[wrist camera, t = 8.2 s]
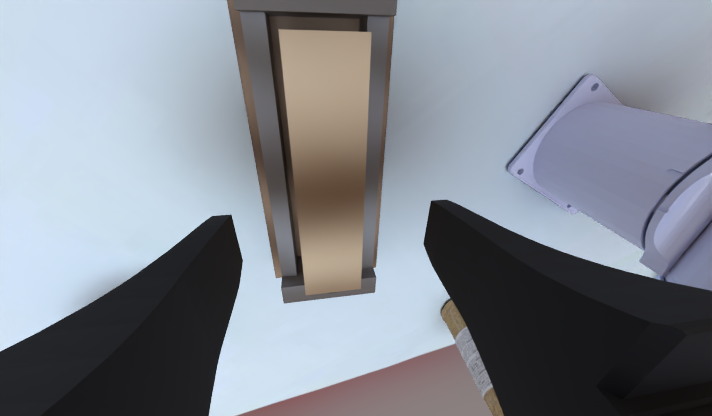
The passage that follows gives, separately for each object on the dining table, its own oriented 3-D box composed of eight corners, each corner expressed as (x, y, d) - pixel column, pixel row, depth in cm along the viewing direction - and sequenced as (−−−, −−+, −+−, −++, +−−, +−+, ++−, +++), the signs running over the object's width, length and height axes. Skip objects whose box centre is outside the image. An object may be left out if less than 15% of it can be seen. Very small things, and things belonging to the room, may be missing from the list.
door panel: (286, 32, 14) (278, 29, 9) (346, 34, 14) (371, 31, 9) (305, 242, 21) (307, 309, 16) (345, 239, 21) (360, 302, 16)
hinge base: (222, -64, 13) (189, -108, 9) (391, -52, 14) (424, -85, 10) (277, 264, 23) (272, 309, 19) (371, 255, 24) (385, 295, 21)
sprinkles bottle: (487, 296, 30) (600, 451, 19) (463, 323, 32) (553, 479, 21) (454, 288, 29) (556, 453, 17) (431, 317, 30) (509, 483, 19)
